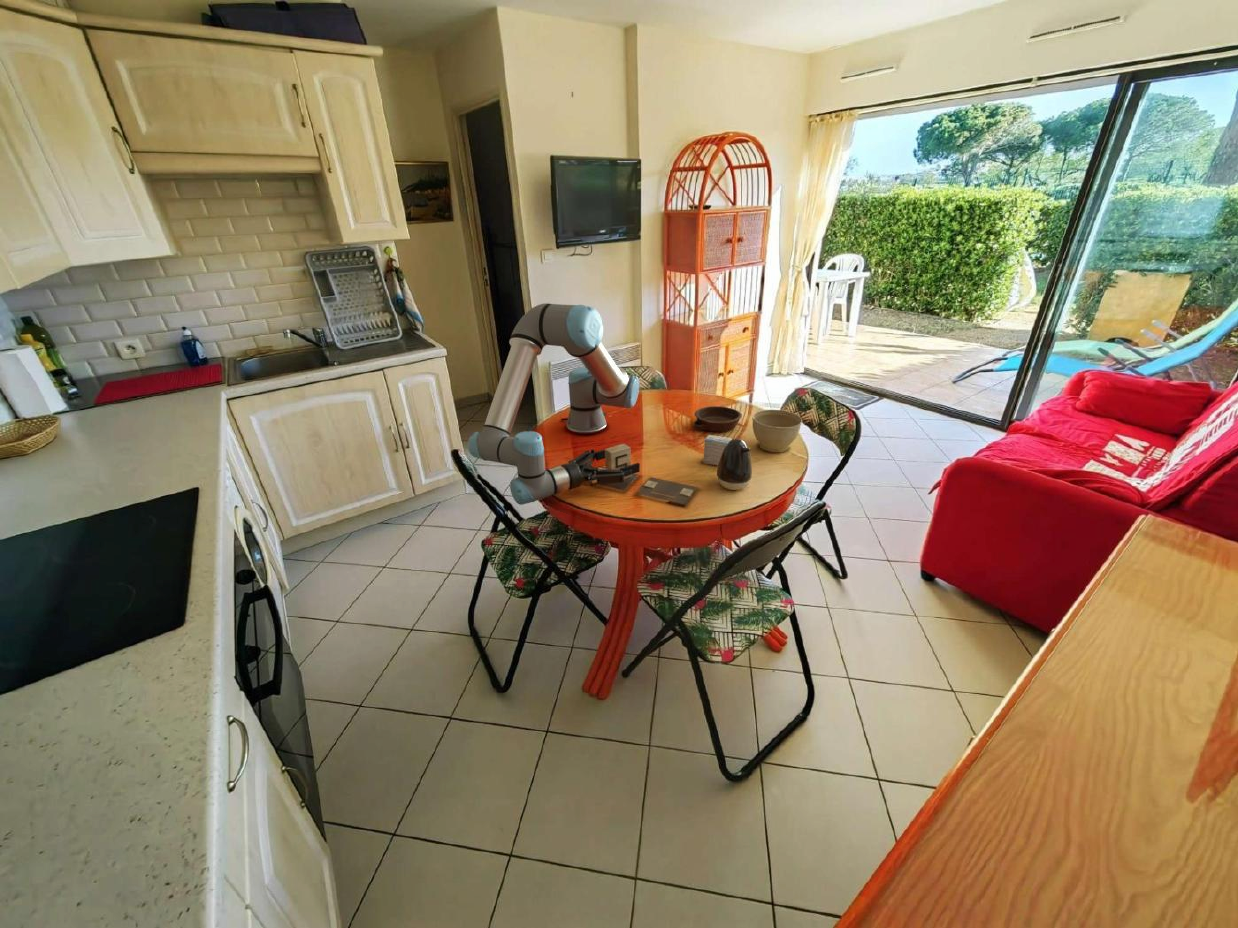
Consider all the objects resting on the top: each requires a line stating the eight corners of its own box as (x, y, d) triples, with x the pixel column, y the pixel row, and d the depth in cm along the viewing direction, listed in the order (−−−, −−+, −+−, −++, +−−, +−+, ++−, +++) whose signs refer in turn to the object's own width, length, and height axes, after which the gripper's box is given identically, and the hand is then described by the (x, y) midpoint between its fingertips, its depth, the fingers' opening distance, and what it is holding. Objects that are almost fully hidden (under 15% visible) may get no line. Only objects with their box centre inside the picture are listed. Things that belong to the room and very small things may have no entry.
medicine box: (730, 462, 167) (732, 437, 163) (726, 467, 163) (728, 443, 159) (706, 458, 170) (708, 434, 166) (702, 463, 166) (704, 439, 162)
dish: (754, 426, 194) (756, 414, 192) (711, 440, 183) (712, 427, 181) (722, 413, 207) (723, 401, 205) (680, 425, 196) (680, 413, 194)
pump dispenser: (730, 497, 146) (735, 449, 140) (708, 482, 155) (712, 436, 148) (758, 489, 151) (763, 442, 144) (735, 475, 159) (739, 430, 152)
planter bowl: (740, 441, 182) (743, 412, 177) (779, 435, 186) (783, 407, 181) (765, 460, 168) (769, 429, 163) (807, 453, 172) (812, 423, 167)
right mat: (636, 495, 148) (636, 492, 148) (650, 479, 157) (650, 476, 157) (684, 507, 142) (685, 503, 142) (697, 489, 151) (697, 486, 151)
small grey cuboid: (631, 477, 157) (631, 447, 153) (612, 483, 154) (611, 453, 149) (624, 472, 160) (624, 443, 155) (605, 478, 156) (604, 449, 152)
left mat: (582, 483, 156) (582, 480, 155) (599, 468, 164) (599, 465, 164) (623, 492, 150) (623, 489, 149) (639, 476, 159) (639, 473, 158)
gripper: (546, 473, 156) (604, 455, 167) (587, 507, 138) (650, 485, 148) (544, 450, 153) (604, 434, 163) (585, 483, 134) (650, 462, 145)
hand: (626, 458), depth 156 cm, fingers open, 13 cm apart
